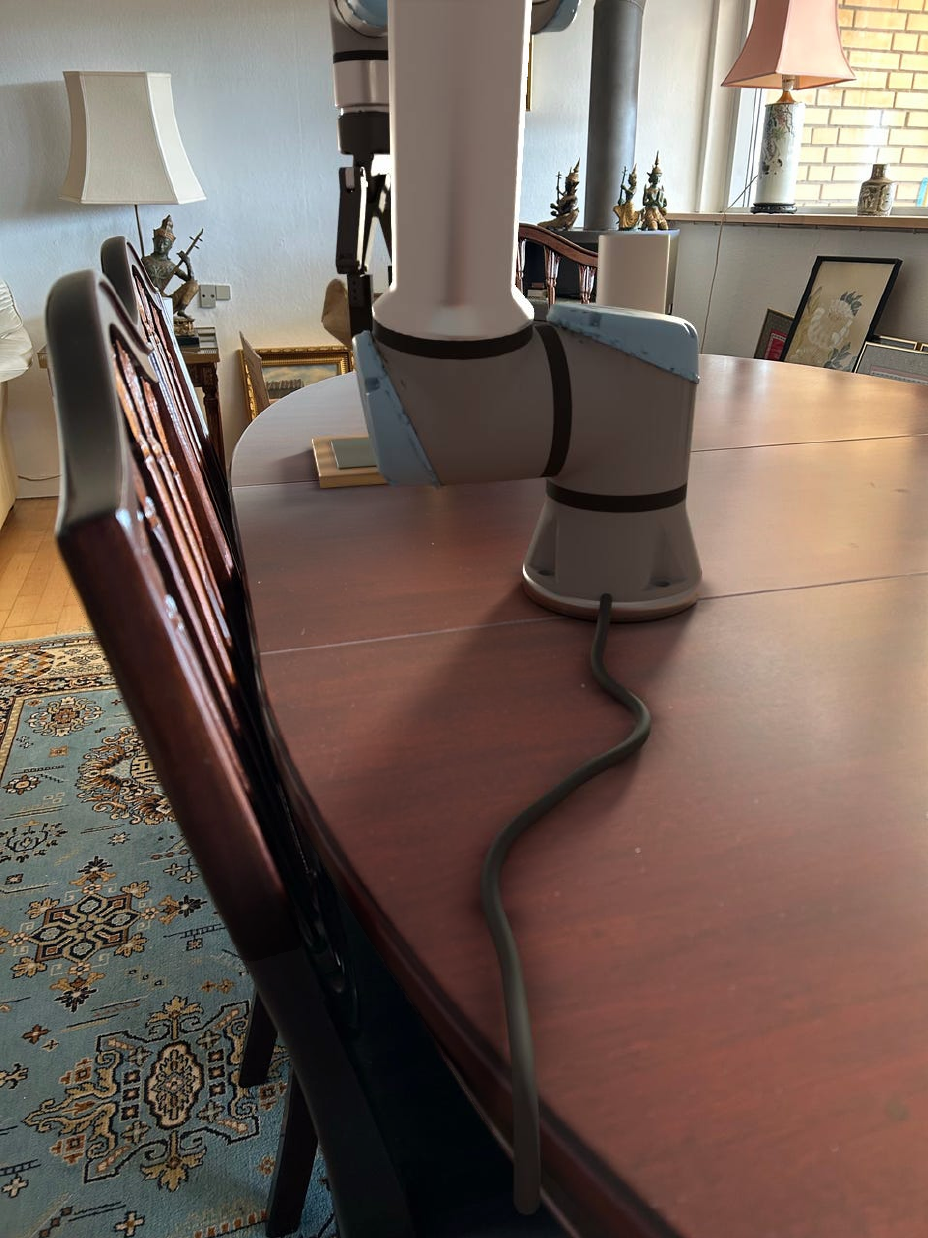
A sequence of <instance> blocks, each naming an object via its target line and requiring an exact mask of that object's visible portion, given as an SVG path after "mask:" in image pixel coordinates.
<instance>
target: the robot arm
mask: <svg viewBox="0 0 928 1238" xmlns="http://www.w3.org/2000/svg"><path fill="white" fill-rule="evenodd" d="M580 4H581V0H328V11H329V12H328V13H329V22H330V33H331V46H332V75H333V93H334V94H333V95H334V107H335V108H336V109H338V110H340V113H341V114H339V115H338V117H337V118H336V132H337V145H338V151H339V153H340V154H341V155H343V156H352V166H340V167H339V168H338V183H339V199H338V214H337V215H338V216H337V229H336V230H337V231H336V244H335V261H334V262H335V268H336V273H337V274H338V275H346V288H347V289H348V302H349V317H350V331H351V338H353V340H352V346H353V351H352V352H353V363H354V364H353V365H354V369H355V377H356V382H357V387H358V392H359V397H360V402H361V407H362V412H363V417H364V422H365V426H366V430H367V435H369V439H370V443H371V447H372V451H373V455H374V458H375V462H376V465H377V468H378V471H379V473H380V475H381V476H382V478H383V479H384V480H385V481H386V482H387V483H386V484H388V485H390V486H392V487H394V488H399V489H411V488H434V489H436V490H443V487H451V486H464V485H476V484H488V483H499V482H511V481H521V480H522V481H523V480H533V479H542V478H543V479H544V478H545V495H544V496H545V498H544V503H543V506H542V509H541V511H540V515H539V518H538V520H537V523H536V526H535V530H534V531H533V535H532V538H531V540H530V543H529V546H528V549H527V552H526V555H525V557H524V561H523V566H522V587H523V590H524V592H525V594H526V595H527V596H528V597H529V598H530V599H531V600H532V601H534V602H535V603H537V604H538V605H540V606H542V607H544V608H545V609H548V610H550V611H552V612H556V613H558V614H561V615H565V616H569V617H573V618H576V619H577V618H578V619H582V620H583V619H584V620H589V621H597V622H596V628H595V629H596V630H595V633H594V634H595V635H594V639H593V642H592V646H591V651H590V668H591V669H590V670H591V672H592V675H593V677H594V679H596V681H597V683H599V685H600V686H601V687H602V688H603V689H604V691H606V692H607V693H608V694H610V696H611V697H613V698H614V699H615V700H617V701H618V702H620V703H621V704H622V705H624V707H626V708H627V709H628V710H629V711H631V713H632V714H633V716H634V718H635V721H636V724H635V728H634V730H633V731H632V733H631V734H630V735H629V737H628V738H626V739H625V740H624V741H622V742H621V743H619V744H617V745H616V746H614V747H612V748H611V749H609V750H607V751H605V752H603V753H601V754H600V755H597V756H596V757H593V758H592V759H590V760H588V761H586V762H585V763H584V764H581V765H580V766H578V767H577V768H575V769H574V770H572V771H571V772H570V773H569V774H568V775H566V776H565V777H564V778H563V779H561V780H560V781H559V782H558V783H556V785H554V786H553V787H551V788H550V789H549V790H547V791H546V792H545V793H543V794H542V795H541V796H539V797H538V798H537V799H535V800H534V801H532V802H531V803H530V804H529V805H528V806H526V807H525V808H524V809H522V810H521V811H520V812H519V813H518V814H516V815H515V816H514V817H513V818H512V819H511V820H510V821H508V823H507V824H506V825H505V826H503V828H502V829H501V830H500V831H499V833H498V834H497V836H496V837H495V838H494V839H493V841H492V843H491V845H490V847H489V848H488V850H487V853H486V855H485V856H484V860H483V863H482V866H481V871H480V878H479V879H480V881H479V891H480V900H481V901H480V902H481V906H482V911H483V914H484V918H485V922H486V924H487V927H488V930H489V934H490V937H491V939H492V943H493V946H494V950H495V953H496V956H497V960H498V961H497V962H498V965H499V969H500V975H501V982H502V983H501V984H502V990H503V1001H504V1008H505V1015H506V1016H505V1018H506V1026H507V1035H508V1045H509V1056H510V1065H511V1066H510V1067H511V1068H510V1069H511V1081H512V1082H511V1087H512V1114H513V1118H512V1119H513V1204H514V1205H513V1206H515V1208H516V1210H517V1212H518V1213H520V1214H522V1215H524V1216H529V1215H533V1214H536V1212H537V1210H538V1209H539V1207H540V1206H541V1137H540V1136H541V1135H540V1134H541V1133H540V1114H539V1113H540V1112H539V1095H538V1094H539V1093H538V1078H537V1069H536V1058H535V1049H534V1042H533V1034H532V1027H531V1022H530V1021H531V1020H530V1014H529V1007H528V1001H527V993H526V987H525V979H524V973H523V968H522V962H521V958H520V954H519V949H518V946H517V943H516V941H515V937H514V934H513V932H512V928H511V926H510V923H509V921H508V918H507V915H506V912H505V909H504V906H503V902H502V899H501V893H500V877H501V872H502V870H503V869H502V868H503V865H504V863H505V860H506V858H507V856H508V854H509V852H510V850H511V848H512V847H513V846H514V844H515V843H516V841H517V840H518V839H519V838H520V837H522V835H523V834H524V833H525V832H526V831H527V830H529V828H530V827H531V826H533V825H534V824H536V822H538V821H539V820H541V819H542V818H543V817H544V816H546V815H547V814H548V813H550V812H551V811H552V810H553V809H555V808H556V807H557V806H559V805H560V804H561V803H563V802H564V801H565V800H566V799H567V798H569V797H570V795H572V794H573V793H574V792H575V791H577V790H578V789H579V788H580V787H582V786H583V785H585V784H586V783H587V782H589V781H590V780H592V779H593V778H595V777H597V776H598V775H600V774H602V773H604V772H606V771H608V770H609V769H611V768H613V767H615V766H616V765H618V764H620V763H622V762H623V761H625V760H627V759H628V758H630V757H631V756H632V755H634V754H635V753H636V752H637V751H638V750H640V748H642V747H643V745H644V744H645V743H646V742H647V740H648V738H649V737H650V734H651V730H652V715H651V714H650V711H649V709H648V708H647V706H646V705H645V704H644V702H643V701H641V699H640V698H639V697H637V696H636V695H635V694H634V693H632V692H631V691H630V690H628V689H627V688H626V687H624V686H623V685H622V684H620V683H619V682H617V681H616V679H614V678H613V677H612V676H611V674H609V671H607V668H606V666H605V661H604V655H605V651H606V646H607V642H608V638H609V632H610V622H611V623H613V622H616V623H625V622H626V623H630V622H642V621H643V622H644V621H650V620H656V619H662V618H665V617H670V616H673V615H675V614H678V613H680V612H683V611H685V610H686V609H688V608H690V607H692V606H693V605H694V604H695V603H696V602H697V601H698V599H699V598H700V595H701V589H702V578H703V569H702V564H701V562H700V556H699V553H698V548H697V544H696V540H695V536H694V532H693V528H692V524H691V520H690V516H689V512H688V508H687V497H688V486H689V485H688V484H689V475H690V464H691V454H692V444H693V433H694V422H695V413H696V412H695V411H696V404H697V403H696V401H697V391H698V390H697V389H698V385H700V381H701V378H700V376H699V375H700V373H699V372H700V371H699V370H700V369H699V368H700V367H699V366H700V365H699V363H700V361H699V357H700V356H699V355H700V354H699V352H700V349H699V342H700V341H699V335H698V332H697V330H696V329H695V327H694V326H693V325H692V324H691V323H690V322H689V321H687V320H685V319H683V318H680V317H678V316H673V315H668V314H665V315H664V314H658V313H653V312H646V311H640V310H633V309H625V308H617V307H609V306H600V305H596V304H587V303H579V302H578V303H577V302H576V303H575V302H567V303H566V302H555V303H553V304H552V305H551V306H550V308H549V310H548V313H547V314H546V316H545V317H546V322H547V324H535V325H534V317H535V312H534V308H533V305H532V304H531V303H530V302H529V300H528V299H527V298H525V296H524V295H523V294H522V293H521V291H520V290H519V289H518V288H517V287H516V285H515V284H516V267H517V266H516V265H517V250H518V232H519V217H520V216H519V215H520V214H519V213H520V197H521V181H522V167H523V166H522V164H523V147H524V131H525V130H524V129H525V114H526V113H525V112H526V95H527V82H528V81H527V80H528V78H527V77H528V65H529V64H528V63H529V48H530V47H529V43H530V36H538V35H540V34H542V33H561V32H564V31H566V30H568V29H569V28H570V27H571V26H572V25H573V24H574V23H573V22H574V21H575V19H576V17H577V14H578V8H579V5H580ZM378 221H379V225H380V229H381V233H382V236H383V239H384V242H385V246H386V249H387V253H388V256H389V260H390V263H391V265H387V281H388V284H387V285H388V287H387V288H386V289H385V290H384V292H382V293H383V294H382V295H381V296H380V297H379V298H378V299H377V300H376V301H375V302H374V293H375V292H374V274H371V273H369V269H370V263H371V259H372V252H373V248H374V247H373V246H374V242H375V235H376V229H377V224H378Z"/></svg>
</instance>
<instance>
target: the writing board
mask: <svg viewBox="0 0 928 1238" xmlns="http://www.w3.org/2000/svg"><path fill="white" fill-rule="evenodd" d="M311 447H312V452H313V453H312V454H313V456H314V463H315V466H316V472H317V476H318V481H319V486H320V489H329V488H330V489H331V488H342V487H343V488H345V487H358V486H370V485H383V484H384V485H385V484H388V483H387V482H386V481H385V480H384V479H383V478H382V476H381V475H380V473H379V471H378V468H377V465H376V462H375V458H374V455H373V451H372V447H371V443H370V439H369V435H368V434H356V435H340V436H325V437H323V436H322V437H312V438H311Z"/></svg>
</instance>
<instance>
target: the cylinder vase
mask: <svg viewBox="0 0 928 1238" xmlns="http://www.w3.org/2000/svg"><path fill="white" fill-rule="evenodd" d="M670 245H671V234H668V233H626V234H625V233H624V234H623V233H621V234H620V233H619V234H602V235H598V252H597V253H598V254H597V273H596V274H597V275H596V278H597V280H596V301H595V302H596V303H595V305H600V306H609V307H617V308H625V309H633V310H640V311H646V312H653V313H658V314H664V315H666V299H667V287H668V286H667V285H668V272H669V258H670Z"/></svg>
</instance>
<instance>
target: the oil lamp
mask: <svg viewBox="0 0 928 1238" xmlns="http://www.w3.org/2000/svg"><path fill="white" fill-rule="evenodd" d="M383 293H384V292H374V302H375V301H376V300H377V299H378V298H379V297H380V296H381V295H382V294H383ZM320 322H321V323H322V326H323V328H324V329H325V331H327V332H328V334H330V335H331V336H332V337H333V338H335V339H336V340H337V341H339V342H340V343H341V344H342V345H343V346H344V347H345V348H346V349H347V350H348V351H351V352H353V346H352V340H353V338H351V331H350V317H349V302H348V288H347V284H346V283H345V281H343V279H340V278H337V277H336V278H334V279H332V280H331V281H330V282H329V283H328V284H327V286H326V288H325V295H324V301H323V307H322V313H321V320H320Z"/></svg>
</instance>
